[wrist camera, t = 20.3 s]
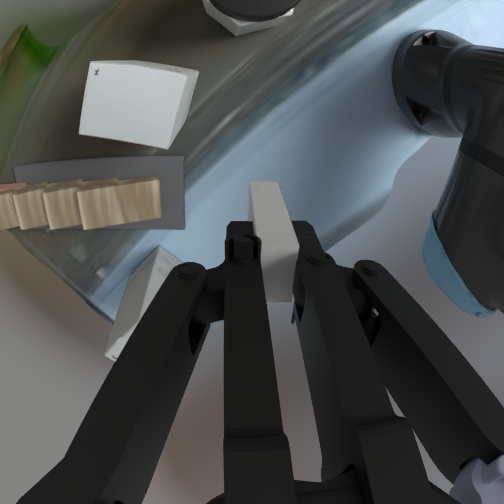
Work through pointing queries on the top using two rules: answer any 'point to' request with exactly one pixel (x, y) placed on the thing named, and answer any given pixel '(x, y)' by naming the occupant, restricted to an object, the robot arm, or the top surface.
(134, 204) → the domino
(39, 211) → the domino
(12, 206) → the domino
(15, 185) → the domino
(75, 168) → the mat
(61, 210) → the domino
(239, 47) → the top surface
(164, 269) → the skincare box
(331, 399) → the robot arm
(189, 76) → the small box
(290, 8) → the jar
